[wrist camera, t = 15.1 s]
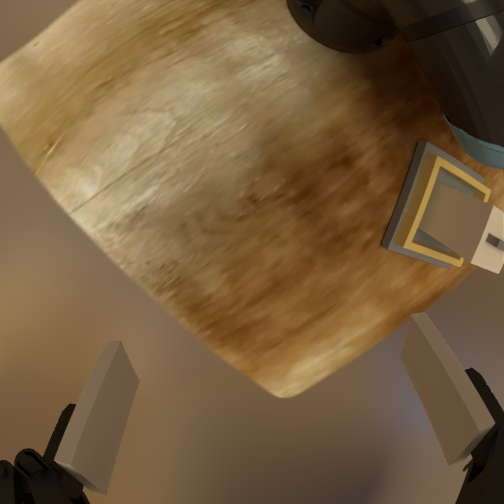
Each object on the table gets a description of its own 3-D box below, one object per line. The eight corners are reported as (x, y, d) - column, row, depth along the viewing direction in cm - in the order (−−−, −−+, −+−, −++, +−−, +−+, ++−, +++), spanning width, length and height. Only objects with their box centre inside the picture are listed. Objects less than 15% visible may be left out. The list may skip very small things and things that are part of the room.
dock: (418, 139, 36) (438, 143, 32) (477, 176, 39) (495, 182, 35) (380, 244, 42) (395, 256, 38) (442, 264, 44) (458, 276, 40)
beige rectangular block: (434, 181, 36) (505, 211, 24) (463, 197, 38) (530, 229, 25) (417, 227, 39) (481, 271, 26) (447, 239, 40) (508, 281, 27)
